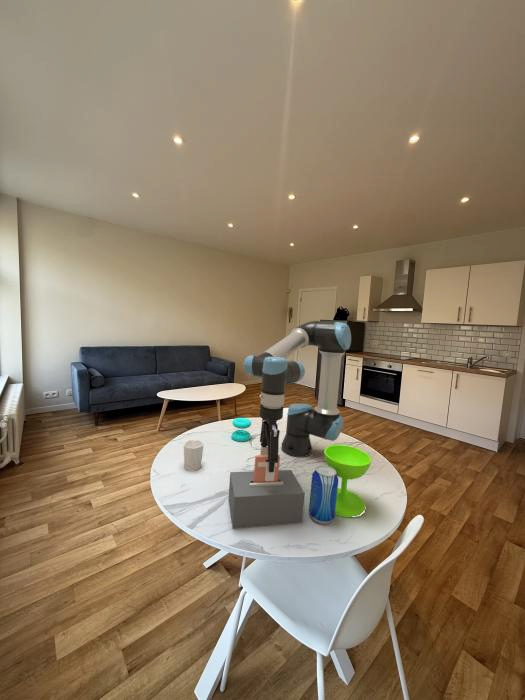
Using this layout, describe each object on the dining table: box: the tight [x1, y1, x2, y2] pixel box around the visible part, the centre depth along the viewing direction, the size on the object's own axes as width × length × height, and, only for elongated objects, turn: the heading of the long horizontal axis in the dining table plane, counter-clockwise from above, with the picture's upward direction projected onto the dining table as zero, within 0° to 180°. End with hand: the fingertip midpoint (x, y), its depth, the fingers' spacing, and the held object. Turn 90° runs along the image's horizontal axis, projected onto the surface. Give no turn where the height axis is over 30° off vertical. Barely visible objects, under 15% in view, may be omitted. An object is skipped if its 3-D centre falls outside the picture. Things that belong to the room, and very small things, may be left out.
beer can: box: [308, 464, 339, 525], centre depth 93 cm, size 8×8×16 cm
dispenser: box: [228, 469, 305, 529], centre depth 94 cm, size 22×14×11 cm, turn 102°
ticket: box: [253, 454, 281, 483], centre depth 93 cm, size 8×1×12 cm, turn 102°
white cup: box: [183, 439, 204, 472], centre depth 118 cm, size 8×8×10 cm
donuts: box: [231, 417, 252, 442], centre depth 150 cm, size 10×10×10 cm
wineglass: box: [323, 444, 372, 518], centre depth 101 cm, size 16×16×18 cm
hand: (266, 472), depth 93 cm, fingers open, 8 cm apart
